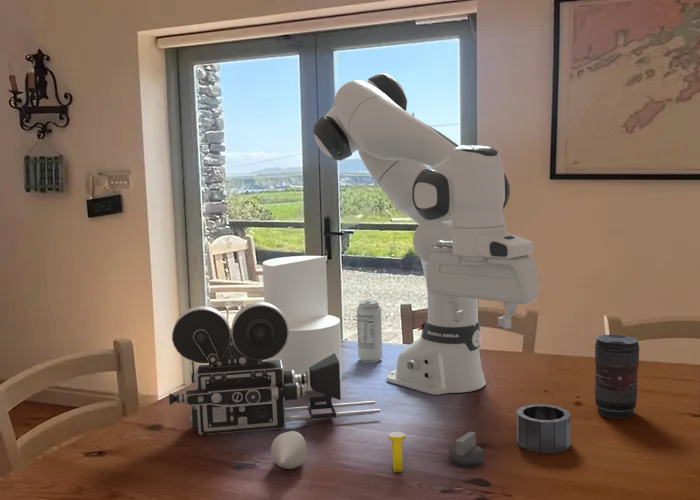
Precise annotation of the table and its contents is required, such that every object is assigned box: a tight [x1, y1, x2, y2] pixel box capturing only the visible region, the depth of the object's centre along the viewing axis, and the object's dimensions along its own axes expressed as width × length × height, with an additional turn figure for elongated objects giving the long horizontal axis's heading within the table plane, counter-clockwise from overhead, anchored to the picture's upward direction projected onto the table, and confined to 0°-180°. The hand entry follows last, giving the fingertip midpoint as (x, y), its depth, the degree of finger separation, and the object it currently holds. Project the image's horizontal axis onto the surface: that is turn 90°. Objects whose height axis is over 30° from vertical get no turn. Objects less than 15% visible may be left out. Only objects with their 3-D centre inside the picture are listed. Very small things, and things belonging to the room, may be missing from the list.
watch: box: [387, 431, 406, 473], centre depth 123 cm, size 6×3×6 cm, turn 0°
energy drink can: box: [356, 299, 383, 364], centre depth 188 cm, size 6×6×15 cm
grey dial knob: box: [448, 431, 484, 469], centre depth 126 cm, size 6×6×4 cm
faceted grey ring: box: [516, 403, 572, 455], centre depth 132 cm, size 9×9×6 cm
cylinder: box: [262, 255, 343, 392], centre depth 172 cm, size 17×17×28 cm
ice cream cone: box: [270, 430, 308, 470], centre depth 124 cm, size 6×6×15 cm
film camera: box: [168, 301, 381, 436], centre depth 145 cm, size 40×12×24 cm, turn 99°
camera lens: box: [594, 334, 640, 419], centre depth 146 cm, size 8×8×15 cm
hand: (480, 324), depth 126 cm, fingers open, 8 cm apart
